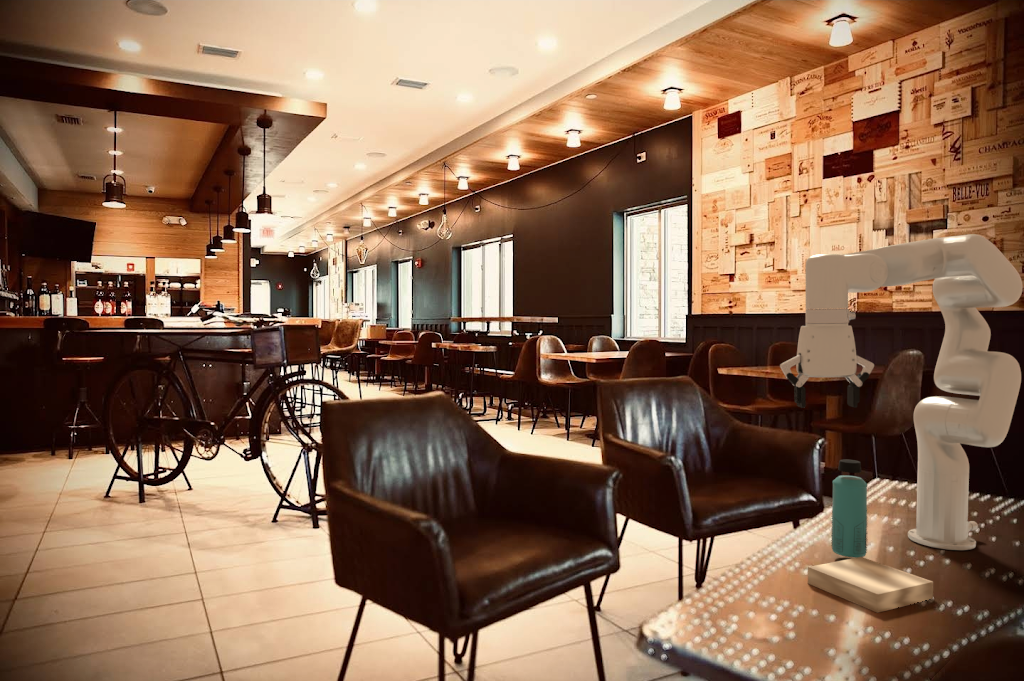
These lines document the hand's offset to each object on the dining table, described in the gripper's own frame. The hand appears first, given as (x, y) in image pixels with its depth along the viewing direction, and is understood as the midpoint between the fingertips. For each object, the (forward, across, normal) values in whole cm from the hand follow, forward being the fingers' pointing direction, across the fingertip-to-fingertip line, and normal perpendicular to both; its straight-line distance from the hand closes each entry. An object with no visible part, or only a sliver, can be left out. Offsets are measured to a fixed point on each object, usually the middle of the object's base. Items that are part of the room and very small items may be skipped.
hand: (826, 406), depth 136 cm
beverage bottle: (+31, -5, -3) cm, 32 cm away
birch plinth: (+31, -2, +14) cm, 34 cm away
